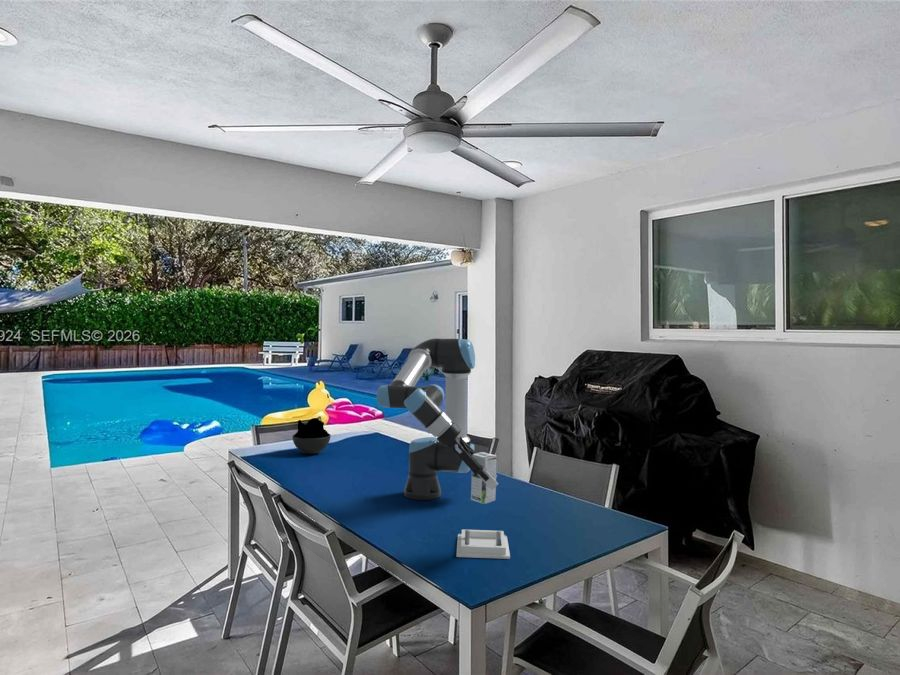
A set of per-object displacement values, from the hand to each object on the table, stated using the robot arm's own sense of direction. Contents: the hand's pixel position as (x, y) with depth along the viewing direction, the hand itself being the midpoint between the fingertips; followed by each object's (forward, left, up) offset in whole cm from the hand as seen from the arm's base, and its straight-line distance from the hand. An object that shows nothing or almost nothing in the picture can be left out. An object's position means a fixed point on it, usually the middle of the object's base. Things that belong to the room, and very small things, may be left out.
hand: (494, 482), depth 166 cm
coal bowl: (-117, -94, -21) cm, 152 cm away
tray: (0, -3, -20) cm, 21 cm away
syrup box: (0, -3, -6) cm, 7 cm away
